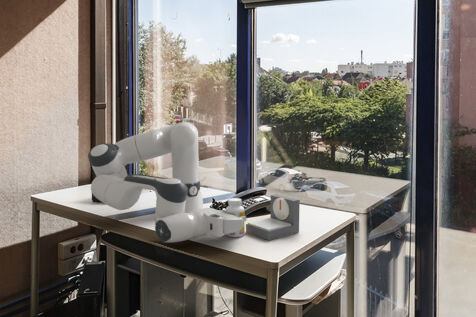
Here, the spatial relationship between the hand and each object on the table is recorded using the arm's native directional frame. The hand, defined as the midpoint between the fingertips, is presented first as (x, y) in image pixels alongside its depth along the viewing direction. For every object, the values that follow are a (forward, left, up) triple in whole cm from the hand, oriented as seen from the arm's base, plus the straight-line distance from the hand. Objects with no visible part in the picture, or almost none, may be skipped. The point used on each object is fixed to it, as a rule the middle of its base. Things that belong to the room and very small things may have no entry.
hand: (236, 215), depth 141 cm
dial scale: (+6, +12, -7) cm, 15 cm away
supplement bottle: (0, -1, -7) cm, 7 cm away
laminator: (-85, -6, -8) cm, 86 cm away
